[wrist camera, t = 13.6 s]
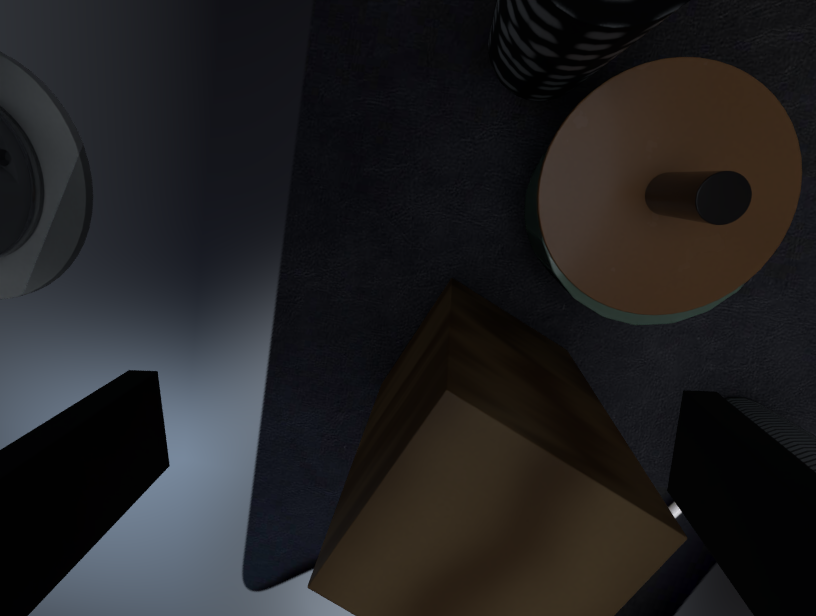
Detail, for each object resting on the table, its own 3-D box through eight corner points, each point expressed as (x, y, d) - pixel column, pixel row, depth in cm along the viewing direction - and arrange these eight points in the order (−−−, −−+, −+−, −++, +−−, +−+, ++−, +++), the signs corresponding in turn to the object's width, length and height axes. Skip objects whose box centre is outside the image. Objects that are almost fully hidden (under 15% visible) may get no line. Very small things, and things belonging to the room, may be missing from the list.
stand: (380, 385, 47) (306, 587, 24) (451, 277, 44) (446, 389, 21) (489, 451, 47) (521, 712, 24) (567, 350, 44) (688, 538, 21)
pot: (489, 235, 42) (497, 250, 34) (597, 72, 39) (637, 42, 30) (632, 327, 43) (677, 364, 35) (752, 176, 40) (835, 176, 31)
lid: (487, 219, 33) (495, 231, 26) (655, 1, 29) (721, -58, 22) (668, 357, 35) (725, 406, 27) (853, 165, 31) (979, 161, 23)
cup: (675, 393, 44) (786, 503, 29) (779, 373, 43) (951, 477, 28) (688, 478, 46) (799, 621, 31) (788, 461, 45) (954, 602, 30)
